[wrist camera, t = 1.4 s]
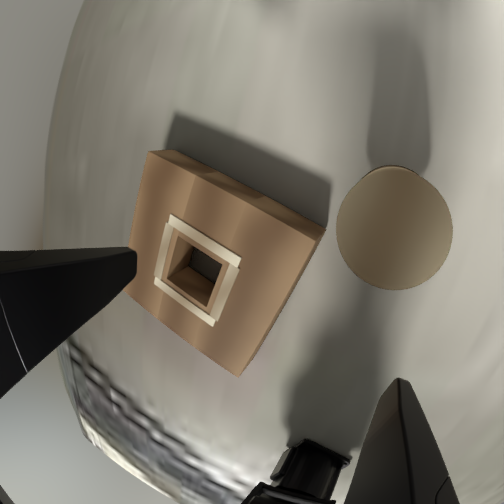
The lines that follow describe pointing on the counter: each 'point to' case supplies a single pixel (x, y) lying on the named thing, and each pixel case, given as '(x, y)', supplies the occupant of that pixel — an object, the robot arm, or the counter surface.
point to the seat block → (215, 256)
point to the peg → (394, 228)
